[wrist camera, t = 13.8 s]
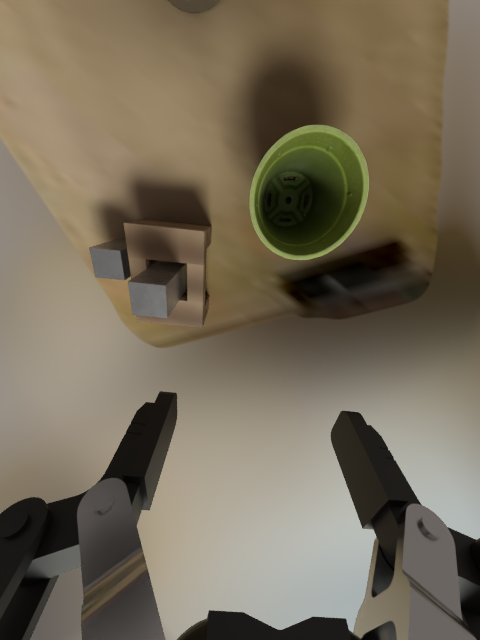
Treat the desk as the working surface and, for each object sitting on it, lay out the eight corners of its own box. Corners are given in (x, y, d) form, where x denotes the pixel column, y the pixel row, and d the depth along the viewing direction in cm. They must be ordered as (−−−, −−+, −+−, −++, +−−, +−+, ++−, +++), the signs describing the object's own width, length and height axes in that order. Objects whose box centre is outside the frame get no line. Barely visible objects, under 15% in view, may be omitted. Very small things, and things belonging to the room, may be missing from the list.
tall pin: (167, 254, 36) (127, 281, 24) (192, 256, 36) (165, 285, 24) (168, 277, 38) (132, 314, 25) (192, 280, 38) (167, 318, 26)
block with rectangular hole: (145, 218, 33) (123, 222, 27) (211, 226, 34) (204, 231, 28) (153, 303, 40) (137, 321, 34) (208, 308, 40) (202, 327, 34)
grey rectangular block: (116, 239, 35) (89, 247, 29) (141, 242, 35) (120, 250, 29) (120, 264, 37) (95, 277, 31) (144, 267, 37) (124, 280, 31)
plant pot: (266, 256, 36) (274, 277, 26) (233, 178, 31) (229, 167, 21) (339, 221, 33) (379, 230, 23) (316, 130, 28) (355, 92, 18)
